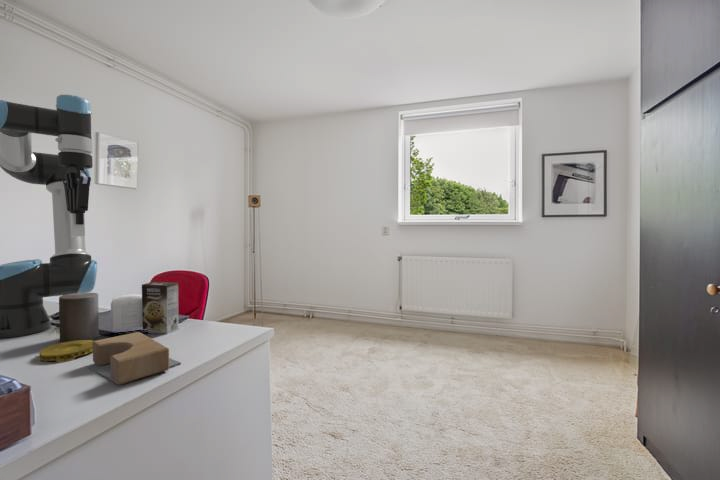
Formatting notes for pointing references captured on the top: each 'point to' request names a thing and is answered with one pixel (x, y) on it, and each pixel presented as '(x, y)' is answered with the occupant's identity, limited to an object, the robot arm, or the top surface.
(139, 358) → the decorative block
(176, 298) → the coffee box
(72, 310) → the pillar candle
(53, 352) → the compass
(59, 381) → the top surface
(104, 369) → the mat
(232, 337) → the top surface
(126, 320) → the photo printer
